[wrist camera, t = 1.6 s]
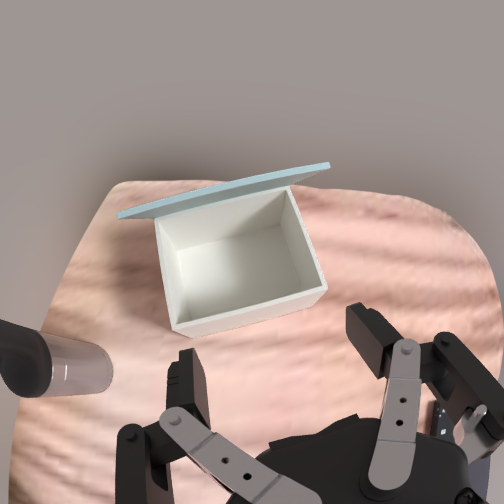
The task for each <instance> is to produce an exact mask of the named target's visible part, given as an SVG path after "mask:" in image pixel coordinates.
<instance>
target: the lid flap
mask: <svg viewBox="0 0 504 504" xmlns="http://www.w3.org/2000/svg"><path fill="white" fill-rule="evenodd" d="M327 169H330V163H329V162H325V163H320V164H314V165H308V166H302V167H297V168H292V169H286V170H281V171H276V172H271V173H266V174H261V175H257V176H252V177H247V178H244V179H239V180H234V181H230V182H226V183H221V184H217V185H213V186H209V187H205V188H201V189H197V190H193V191H189V192H186V193H182V194H178V195H175V196H171V197H167V198H164V199H160V200H157V201H153V202H150V203H146V204H143V205H140V206H136V207H133V208H130V209H127V210H123V211H120V212H117V213H116V214H117V218H118V219H147V218H158V217H161V216H165V215H168V214H172V213H176V212H179V211H183V210H187V209H191V208H195V207H198V206H202V205H206V204H210V203H214V202H218V201H222V200H226V199H231V198H235V197H239V196H243V195H248V194H252V193H256V192H261V191H265V190H270V189H275V188H279V187H284V186H288V185H291V184H293V183H295V182H298V181H300V180H303V179H305V178H308V177H310V176H312V175H315V174H317V173H320V172H322V171H324V170H327Z"/></svg>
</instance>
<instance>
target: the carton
mask: <svg viewBox="0 0 504 504" xmlns="http://www.w3.org/2000/svg"><path fill="white" fill-rule="evenodd" d="M154 223H155V231H156V239H157V246H158V253H159V260H160V267H161V273H162V279H163V285H164V291H165V296H166V302H167V307H168V312H169V317H170V322H171V327H172V330H173V331H175V332H178V333H180V334H182V335H184V336H187V337H189V338H192V339H194V338H198V337H203V336H207V335H211V334H215V333H219V332H223V331H227V330H231V329H235V328H239V327H243V326H247V325H251V324H255V323H258V322H262V321H266V320H269V319H273V318H276V317H280V316H283V315H287V314H290V313H293V312H297V311H300V310H303V309H307V308H310V307H311V306H312V305H313V304H314V303H315V302H316V301H317V300H318V299H319V298H320V297H321V296H322V295H323V294H324V293H325V292H326V291H327V289H328V286H327V284H326V281H325V278H324V275H323V272H322V270H321V267H320V264H319V261H318V259H317V256H316V253H315V251H314V248H313V245H312V243H311V240H310V237H309V235H308V232H307V230H306V227H305V224H304V222H303V219H302V217H301V214H300V212H299V209H298V207H297V204H296V202H295V199H294V197H293V194H292V192H291V190H290V187H289V186H284V187H279V188H275V189H270V190H265V191H261V192H256V193H252V194H248V195H243V196H239V197H235V198H231V199H226V200H222V201H218V202H214V203H210V204H206V205H202V206H198V207H195V208H191V209H187V210H183V211H179V212H176V213H172V214H168V215H165V216H161V217H158V218H154Z"/></svg>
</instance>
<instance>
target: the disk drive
mask: <svg viewBox="0 0 504 504" xmlns="http://www.w3.org/2000/svg"><path fill="white" fill-rule="evenodd" d="M454 428H455V425H454V424H453V422H452V421H451V419H450V418H449V416H448V415H447V413H446V412H445V410H444V409H443V407H442V406H441V405H440V403H439V402H438V400H435V402H434V409H433V419H432V426H431V432H430V436H432V437H435V438H439V439H442V440H446V441H449V442H452V443H455V439H454V436H453V430H454ZM455 444H456V443H455Z"/></svg>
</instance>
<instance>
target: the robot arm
mask: <svg viewBox="0 0 504 504" xmlns="http://www.w3.org/2000/svg"><path fill="white" fill-rule="evenodd" d="M346 333H347V336H348V338H349V340H350V341H351V343H352V344H353V346H354V347H355V348H356V350H357V351H358V352H359V354H360V355H361V357H362V358H363V360H364V361H365V362H366V364H367V365H368V367H369V368H370V369H371V371H372V372H373V374H374V375H375V376H376V378H377V379H380V378H382V377H384V376H385V378H386V379H387V381H386V387H385V392H384V397H383V402H382V407H381V411H380V416H379V419H378V418H360V419H359V417H358V415H357V413H356V414H354V415H351V416H349V417H346V418H344V419H341V420H339V421H336V422H334V423H333V424H331V425H330V426H328V427H327V428H325V429H323V430H322V431H320V432H318V433H316V434H312V435H302V436H291V437H287V438H284V439H280V440H277V441H273V442H269V446H270V448H269V449H267V450H265V451H264V452H262V453H261V454H259V455H258V456H257V457H256V458H255V459H254V458H253V457H251V456H250V455H248V454H247V453H245V452H244V451H242V450H241V449H239V448H238V447H237V446H235V445H234V444H232V443H231V442H230V441H228V440H227V439H226V438H224V437H223V436H222V435H220V434H219V433H217V432H215V433H213V432H212V431H210V430H211V426H210V417H209V408H208V398H207V387H206V377H205V373H204V370H203V367H202V365H201V363H200V360H199V358H198V356H197V353H196V351H195V349H194V348H190V349H186V350H181V351H179V361H176V362H172V363H171V365H170V367H169V369H168V375H167V378H168V380H167V395H166V410H165V411H164V412H163V413H162V414H161V416H160V419H159V421H157V422H155V423H153V424H151V425H148V426H146V427H143V428H142V427H141V426H140V425H138V424H128V425H125V426H124V427H122V428H121V429H120V431H119V432H118V435H117V448H116V472H115V504H175V503H174V496H173V488H172V480H171V470H170V462H173V461H175V460H177V459H180V458H182V457H185V456H187V457H188V458H189V459H190V460H191V461H192V462H193V463H194V464H196V465H197V466H198V467H199V468H200V469H201V470H202V471H203V472H205V473H206V474H207V475H208V476H209V477H210V478H212V479H213V480H214V481H215V482H216V483H217V484H218V485H220V486H221V487H222V488H223V489H224V490H226V491H227V492H228V493H230V494H231V496H230V498H229V500H228V501H227V503H226V504H489V503H488V502H487V501H485V500H484V499H483V498H481V497H480V496H479V495H478V494H477V493H475V491H474V490H473V489H472V487H471V483H470V479H469V472H468V467H469V466H470V465H471V464H473V463H474V462H476V461H477V460H478V459H484V458H487V457H489V456H490V455H491V454H492V453H493V452H494V451H495V450H496V449H497V448H498V447H499V446H500V444H502V443H503V442H504V389H503V387H502V386H501V385H500V384H499V383H498V381H497V380H496V379H495V378H494V377H493V376H492V374H491V373H490V372H489V371H488V370H487V369H486V368H485V367H484V365H483V364H482V363H481V362H480V361H479V360H478V359H477V358H476V357H475V356H474V354H473V353H472V352H471V351H470V350H469V349H468V348H467V347H466V346H465V345H464V344H463V343H462V342H461V341H460V340H459V339H458V338H457V337H456V336H455V335H454V334H453V333H450V332H440V333H438V334H437V335H436V336H435V337H434V341H433V342H428V343H423V344H418V343H417V342H416V341H415V340H412V339H404V338H403V337H402V336H401V335H400V334H399V332H398V331H397V330H396V329H395V328H394V327H393V326H392V325H391V324H390V323H389V322H388V321H387V320H386V319H385V318H384V317H383V316H382V315H381V313H380V312H378V311H376V310H374V309H372V308H369V309H366V308H365V306H364V305H363V304H362V303H360V302H358V303H355V304H352V305H349V306H347V307H346ZM0 373H1V376H2V378H3V380H4V382H5V384H6V385H7V386H8V388H9V389H10V390H11V391H12V392H13V393H15V394H16V395H18V396H21V397H26V398H37V397H58V396H73V395H86V394H95V393H100V392H103V391H104V390H106V389H107V388H108V387H109V385H110V383H111V381H112V377H113V366H112V362H111V360H110V358H109V355H108V354H107V353H106V351H105V350H104V349H102V348H101V347H100V346H98V345H95V344H91V343H86V342H82V341H77V340H73V339H68V338H64V337H60V336H56V335H52V334H48V333H44V332H40V331H36V330H33V329H30V328H26V327H23V326H19V325H16V324H13V323H10V322H7V321H4V320H1V319H0ZM422 383H426V385H427V386H428V387H429V389H430V390H431V392H432V393H433V395H434V396H435V397H436V399H437V400H438V402H439V403H440V405H441V406H442V407H443V409H444V410H445V412H446V413H447V415H448V416H449V418H450V419H451V421H452V422H453V424H454V425H455V428H454V430H453V436H454V439H455V443H456V444H455V443H452V442H449V441H446V440H442V439H439V438H435V437H432V436H429V435H426V434H423V433H419V432H416V431H417V424H418V416H419V407H420V396H421V384H422Z"/></svg>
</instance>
